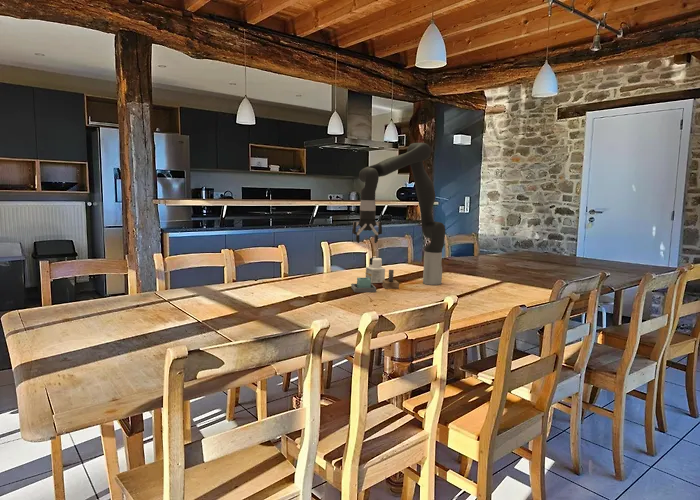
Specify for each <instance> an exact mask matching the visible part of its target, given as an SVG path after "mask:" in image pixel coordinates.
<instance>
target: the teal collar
mask: <svg viewBox="0 0 700 500" xmlns="http://www.w3.org/2000/svg"><path fill="white" fill-rule="evenodd" d="M356 284H357V288H371V284H372V283H371V279H370V278H366V277H357V278H356Z"/></svg>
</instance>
